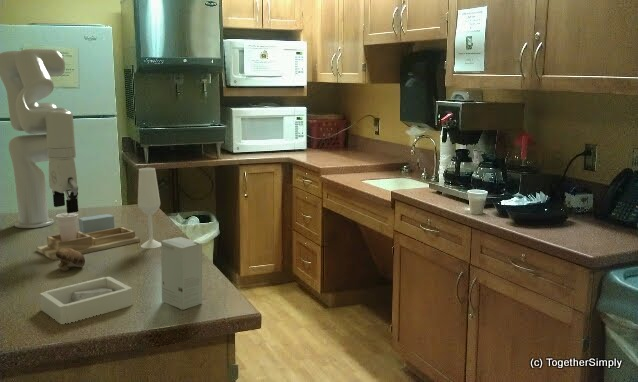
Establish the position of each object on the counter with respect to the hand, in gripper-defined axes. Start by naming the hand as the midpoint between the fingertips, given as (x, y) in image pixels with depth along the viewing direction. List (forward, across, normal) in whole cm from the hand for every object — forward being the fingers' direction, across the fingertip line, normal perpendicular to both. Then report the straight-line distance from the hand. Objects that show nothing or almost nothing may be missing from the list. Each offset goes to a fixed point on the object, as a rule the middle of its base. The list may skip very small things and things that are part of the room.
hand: (66, 209), depth 183 cm
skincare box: (+10, +63, +1) cm, 64 cm away
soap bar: (+11, +49, -14) cm, 52 cm away
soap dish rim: (+11, +50, -16) cm, 54 cm away
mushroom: (+12, +19, -7) cm, 24 cm away
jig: (+12, +1, +6) cm, 14 cm away
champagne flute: (+12, +14, +20) cm, 27 cm away
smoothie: (+12, +1, 0) cm, 12 cm away
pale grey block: (+13, -11, +14) cm, 22 cm away
